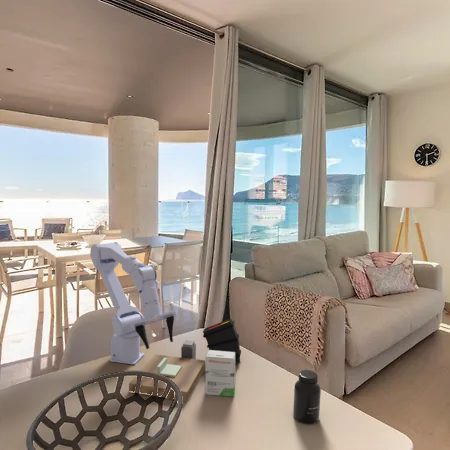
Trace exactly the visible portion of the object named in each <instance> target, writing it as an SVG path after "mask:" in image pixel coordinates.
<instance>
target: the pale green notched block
mask: <svg viewBox="0 0 450 450" xmlns="http://www.w3.org/2000/svg"><path fill="white" fill-rule="evenodd" d="M181 368H182V366H179V365H172V364H167V358H164V359H163V360H162V361H161V362H160V363H159V365H158V366H157V374H160V375H163V376H170V377H176V375H177V374H178V372H179V371H180V370H181Z"/></svg>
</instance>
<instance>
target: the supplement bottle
mask: <svg viewBox="0 0 450 450" xmlns="http://www.w3.org/2000/svg"><path fill="white" fill-rule="evenodd" d="M293 389H294V391H293V392H294V393H293V409H292V414H293V416H294V418H295V419H296V421H297V422H299V423H302V424H305V425H313V424H316V423H317V422H318V421H319V418H320V410H321V395H322V394H321V391H322V389H321V386H320V384H319V383H318V374H317V373H316V372H315V371H313V370H309V369H302V370H299V373H298V380H297V381H296V382H295V384H294V388H293Z"/></svg>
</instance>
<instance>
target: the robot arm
mask: <svg viewBox="0 0 450 450" xmlns="http://www.w3.org/2000/svg"><path fill="white" fill-rule="evenodd" d="M89 254H90V259H91V261H92V265H93V266H94V268H95V270H97V271H98V272H99V275H100V277H101V280H102V282H103V284H104V286H105V289H106V292H107V294H108V296H109V298H110V300H111V303H112V306H113V308H114V310H115V312H114V314H113V315H112V317H111V320H110V321H111V325H112V330H113V333H114V334H113V335H112V338H111V341H110V359H109V361H110V362H113V363H119V364H128V365H136V364H137V363H138V362H139V361H140V359H141V358H143V356H145V352H141V340H142V342H143V344H144V347H145V348H146V349H145V350H149V349H150V344H149V341H148V337H147V333H146V325H150V324H153V323H158V322H160V321H164V320H165V322H166V325H167V326H166V327H167V329H168V330H167V331H168V334H169V335H168V336H169V340H170V343H173V342H174V339H173V337H174V336H173V329H174V321H175V318H176V317H177V316H178V314H177V311H176V309H175V310H171V311H168V312H164V313H163V311H162V308H161V302H160V300H159V299H160V298H159V294H158V290H157V286H156V280H157V279H158V278H157V277H158V274H157V270H156V268H155V266H153V265H152V264H149V265H147V264H146V265H145V264H144V262H141V261H140V260H139V259H138V258H137V257H136V256H135V255H131V256H130V255H129V256H128V255H127V253H126V252H125V251H123V250H122V245H121V244H119V243H118V242H117V241H116V242H108V243H98V244H95V243H94V244H92V245H91V247H90V251H89ZM119 264H120V265H121V268H122V270H123V272H125V273H126V274H128V275H129V276H130V277H131V280H132V283H133V285H134V286H135V289H136V291H137V292H138V295H139V299H140V304H141V308H142V313H141V312H140V310H139V308H138V307H136V306H133V305H130V302H129V300H128V297H127V296H126V293H125V291H124V289H123V287H122V284H121V282H120V280H119V277H118V275H117V273H116V271H115V268H116V267H118V265H119Z"/></svg>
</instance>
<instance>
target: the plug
mask: <svg viewBox="0 0 450 450" xmlns="http://www.w3.org/2000/svg"><path fill="white" fill-rule="evenodd" d="M195 342H196V341H194V340H187V339H186V340H184V342H183V343H182V346H181V350H180V353H181V354H180V357H181V358H189V359H197V357H196V356H197V355H196V354H197V343H195Z"/></svg>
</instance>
